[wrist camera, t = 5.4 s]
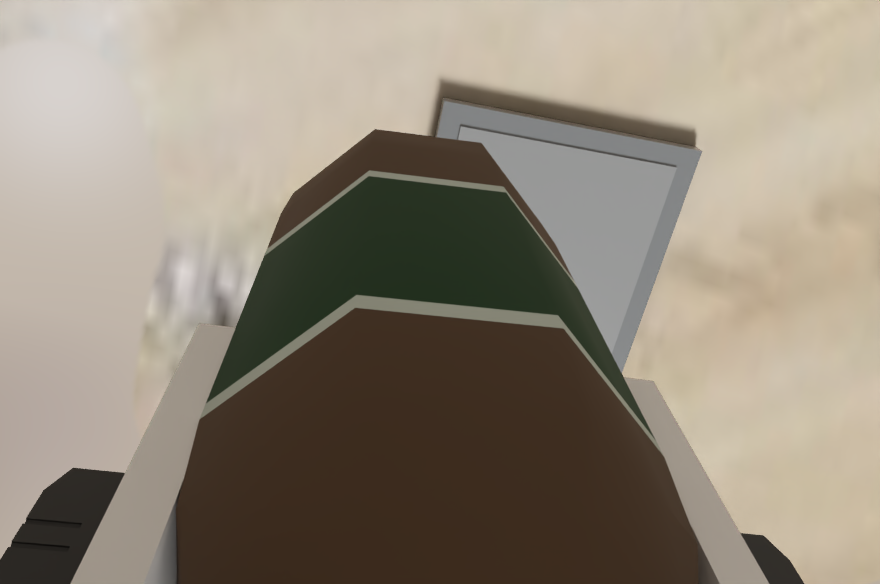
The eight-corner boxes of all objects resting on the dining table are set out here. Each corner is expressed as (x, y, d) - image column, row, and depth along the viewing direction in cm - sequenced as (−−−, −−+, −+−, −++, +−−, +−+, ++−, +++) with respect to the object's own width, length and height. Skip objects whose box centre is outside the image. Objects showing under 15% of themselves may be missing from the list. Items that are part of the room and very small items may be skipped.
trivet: (395, 332, 41) (395, 340, 40) (443, 97, 35) (444, 101, 34) (617, 365, 43) (622, 373, 42) (696, 146, 37) (702, 151, 36)
